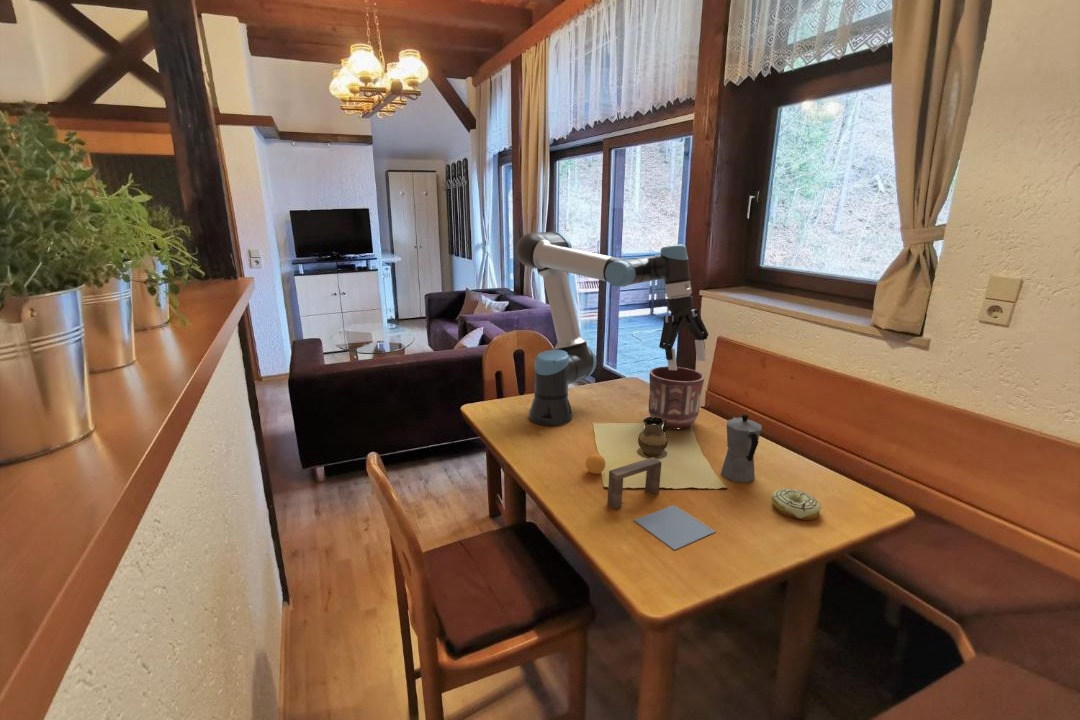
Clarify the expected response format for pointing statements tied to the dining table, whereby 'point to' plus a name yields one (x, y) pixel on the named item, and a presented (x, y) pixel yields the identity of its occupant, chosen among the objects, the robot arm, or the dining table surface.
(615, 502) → the bridge
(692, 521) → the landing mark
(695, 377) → the pottery
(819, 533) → the dining table surface
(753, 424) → the coffeepot
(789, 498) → the decorated donut
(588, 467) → the ball
